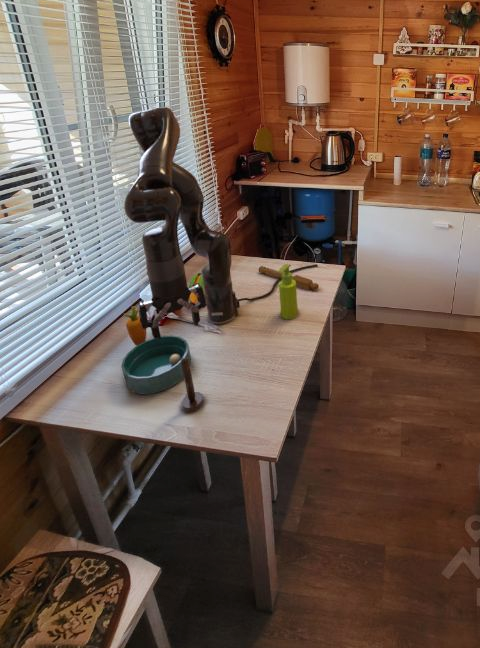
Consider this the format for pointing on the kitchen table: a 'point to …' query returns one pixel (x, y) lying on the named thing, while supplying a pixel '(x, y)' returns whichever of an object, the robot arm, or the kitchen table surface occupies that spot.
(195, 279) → the corn
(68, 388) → the kitchen table surface
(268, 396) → the kitchen table surface
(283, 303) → the soap dispenser
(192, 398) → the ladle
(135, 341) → the carrot
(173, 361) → the bead
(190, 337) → the kitchen table surface
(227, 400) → the kitchen table surface
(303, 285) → the rolling pin
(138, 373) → the bowl
